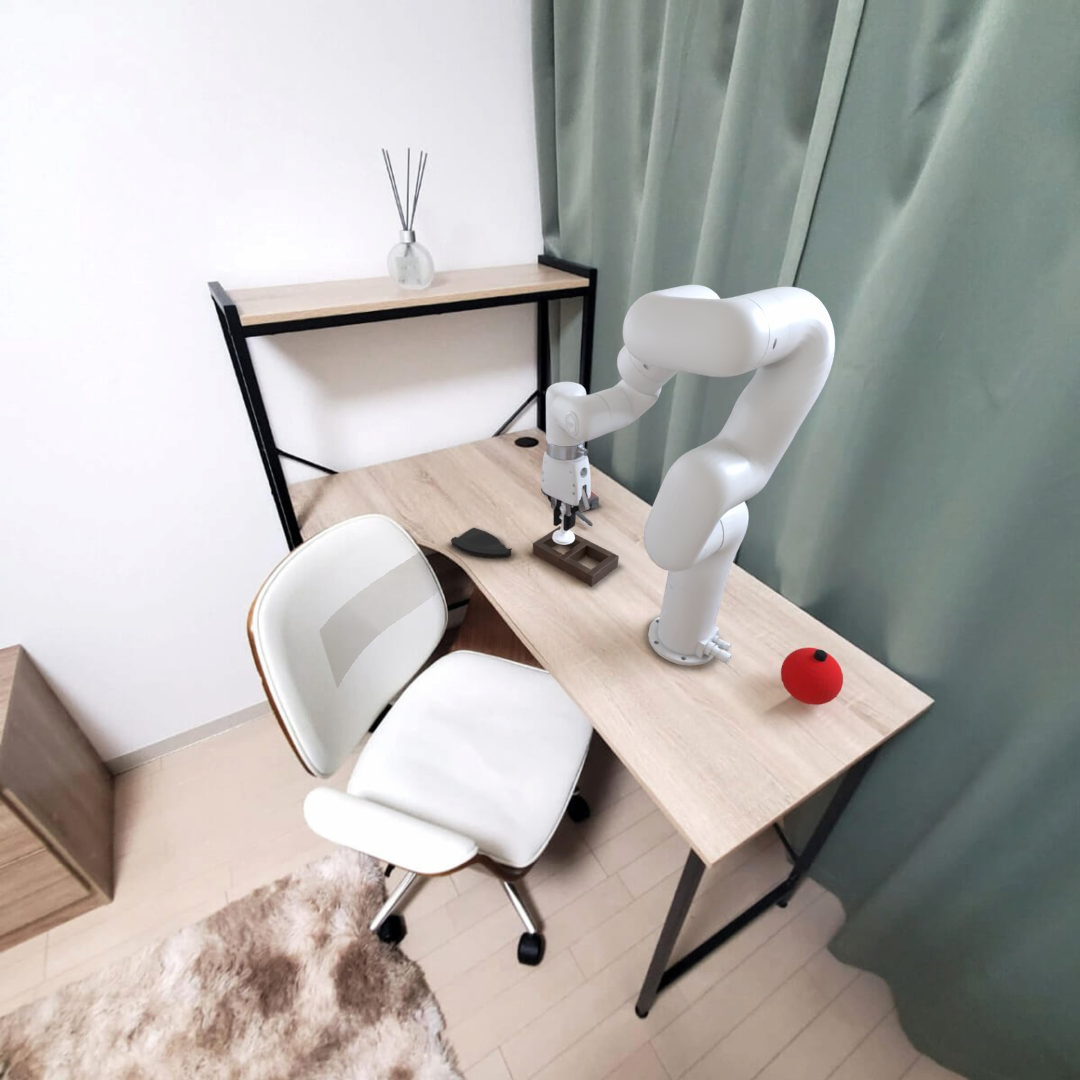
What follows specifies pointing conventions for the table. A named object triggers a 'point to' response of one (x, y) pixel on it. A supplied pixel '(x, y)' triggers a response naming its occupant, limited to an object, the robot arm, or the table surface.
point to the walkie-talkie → (593, 504)
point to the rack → (577, 558)
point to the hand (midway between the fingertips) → (564, 525)
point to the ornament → (811, 676)
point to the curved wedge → (480, 544)
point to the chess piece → (561, 535)
